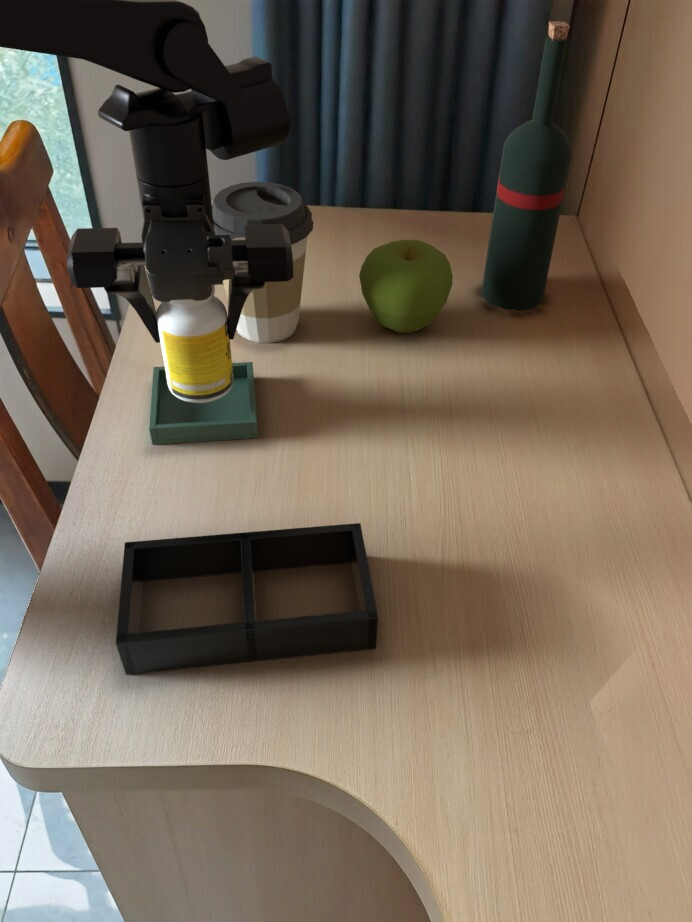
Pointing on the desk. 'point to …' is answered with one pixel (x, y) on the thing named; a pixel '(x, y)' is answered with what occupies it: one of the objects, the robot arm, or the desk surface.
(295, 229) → the coffee cup
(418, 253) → the apple
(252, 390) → the tray
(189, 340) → the pill bottle
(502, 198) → the wine bottle
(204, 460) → the desk surface
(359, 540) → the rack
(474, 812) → the desk surface
